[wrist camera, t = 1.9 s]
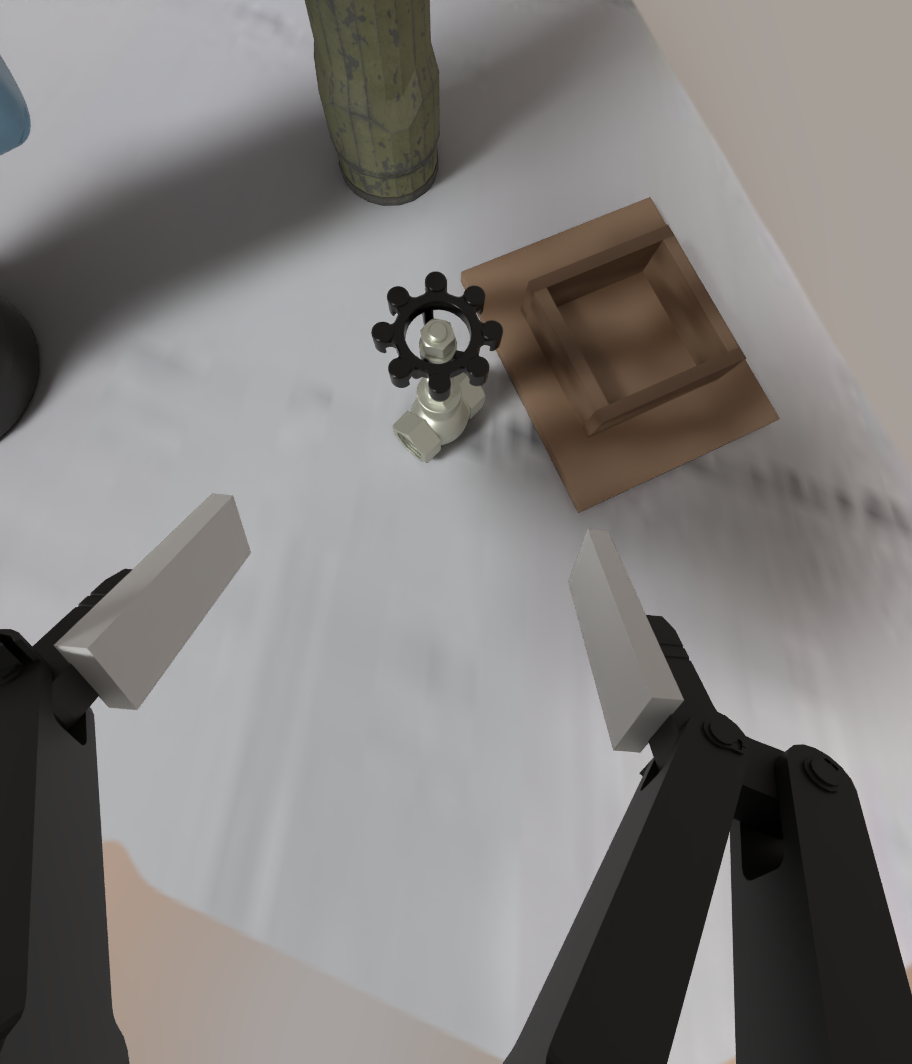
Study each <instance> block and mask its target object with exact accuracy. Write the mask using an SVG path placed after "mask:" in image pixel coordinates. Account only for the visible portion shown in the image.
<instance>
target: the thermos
mask: <svg viewBox="0 0 912 1064" xmlns="http://www.w3.org/2000/svg"><path fill="white" fill-rule="evenodd" d="M305 4H306V8H307V12H308V16H309V20H310V25H311V29H312V33H313V37H314V61H315V68H316V75H317V82H318V89H319V94H320V98H321V102H322V106H323V110H324V114H325V117H326V121H327V125H328V129H329V133H330V137H331V139H332V142H333V144H334V147H335V149H336V151H337V153H338V157H339V165H340V169H341V172H342V174H343V177H344V179H345V182H346V184H347V185H348V186H349V187H350V188H351V189H352V190H353V192H354V193H355V194H357V195H358V196H360V197H362V198H363V199H365V200H367V201H368V202H372V203H376V204H380V205H401V204H404V203H407V202H411V201H414V200H415V199H417V198H418V197H420V196H421V195H423V194H424V193H425V192H426V191H427V190H428V189H429V187H430V186H431V185H432V183H433V182H434V180H435V177H436V174H437V170H438V153H437V141H438V138H439V135H440V129H439V70H438V66H437V63H436V59H435V55H434V52H433V48H432V44H431V37H430V0H305Z"/></svg>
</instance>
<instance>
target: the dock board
mask: <svg viewBox="0 0 912 1064" xmlns="http://www.w3.org/2000/svg"><path fill="white" fill-rule="evenodd" d="M461 282H462V284H463V286H464V288H465V290H466V289H467V288H468V287H470V286H473V285H476V286H479V287H481V288H482V289H483V290H484V292H485V304H484V310H483V312H482V314H481V315H480V314H479V313H478V312H477V314H478V316H479V318H480V320H481V322H483V323H485V322H487V321H489V320H494V321H497V322H499V323H500V324H501V325H502V327H503V335H502V339H501V344H500V346H499V347H498V349H496V351H497V353H498V355H499V357H500V359H501V361H502V363H503V365H504V367H505V369H506V371H507V373H508V375H509V377H510V379H511V381H512V383H513V385H514V387H515V389H516V391H517V393H518V395H519V397H520V399H521V401H522V403H523V405H524V407H525V409H526V410H527V412H528V414H529V416H530V418H531V420H532V422H533V424H534V426H535V428H536V430H537V432H538V434H539V436H540V438H541V440H542V442H543V444H544V446H545V448H546V450H547V452H548V454H549V456H550V458H551V460H552V462H553V464H554V466H555V468H556V470H557V472H558V474H559V476H560V478H561V479H562V481H563V483H564V485H565V487H566V489H567V491H568V493H569V495H570V497H571V499H572V501H573V503H574V505H575V507H576V509H577V511H578V513H579V512H581V511H584V510H586V509H588V508H590V507H592V506H594V505H596V504H599V503H601V502H603V501H605V500H607V499H609V498H611V497H614V496H616V495H618V494H620V493H622V492H624V491H627V490H629V489H631V488H633V487H635V486H637V485H639V484H642V483H644V482H646V481H648V480H650V479H652V478H654V477H657V476H659V475H661V474H663V473H665V472H667V471H669V470H672V469H674V468H676V467H678V466H680V465H682V464H684V463H687V462H689V461H691V460H693V459H695V458H697V457H699V456H702V455H704V454H706V453H708V452H710V451H712V450H714V449H717V448H719V447H721V446H723V445H725V444H727V443H729V442H732V441H734V440H736V439H738V438H740V437H742V436H744V435H747V434H749V433H751V432H753V431H755V430H757V429H759V428H762V427H764V426H766V425H768V424H770V423H772V422H774V421H776V420H778V419H780V418H779V417H778V415H777V413H776V412H775V410H774V408H773V407H772V405H771V403H770V401H769V400H768V398H767V396H766V395H765V393H764V391H763V389H762V388H761V386H760V384H759V383H758V381H757V379H756V377H755V376H754V374H753V372H752V371H751V369H750V367H749V365H748V364H747V362H746V360H745V359H746V357H745V356H744V354H743V352H742V350H741V349H740V347H739V345H738V344H737V342H736V340H735V338H734V337H733V335H732V333H731V332H730V330H729V328H728V326H727V325H726V323H725V321H724V320H723V318H722V316H721V314H720V313H719V311H718V309H717V308H716V306H715V304H714V303H713V301H712V299H711V297H710V296H709V294H708V292H707V291H706V289H705V287H704V285H703V284H702V282H701V280H700V279H699V277H698V275H697V273H696V272H695V270H694V268H693V267H692V265H691V263H690V262H689V260H688V258H687V256H686V255H685V253H684V251H683V250H682V248H681V246H680V244H679V243H678V241H677V239H676V238H675V236H674V234H673V232H672V231H671V229H670V227H669V226H668V225H666V223H665V222H664V220H663V218H662V217H661V215H660V213H659V211H658V210H657V208H656V206H655V205H654V203H653V201H652V199H651V198H650V197H649V198H647V199H644V200H642V201H639V202H637V203H634V204H632V205H629V206H627V207H624V208H621V209H619V210H616V211H614V212H611V213H609V214H606V215H604V216H601V217H599V218H596V219H594V220H591V221H589V222H586V223H584V224H581V225H579V226H576V227H574V228H571V229H569V230H566V231H563V232H561V233H558V234H556V235H553V236H551V237H548V238H546V239H543V240H541V241H538V242H536V243H533V244H531V245H528V246H526V247H523V248H521V249H518V250H516V251H513V252H511V253H508V254H505V255H503V256H500V257H498V258H495V259H493V260H490V261H488V262H485V263H483V264H480V265H478V266H475V267H473V268H470V269H468V270H465V271H463V272H461Z"/></svg>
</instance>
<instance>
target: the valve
mask: <svg viewBox="0 0 912 1064" xmlns="http://www.w3.org/2000/svg"><path fill="white" fill-rule="evenodd" d="M425 291H426V292H425V294H423V295H421V296H418V297H411V296H410V295H409V293H408V291H407V290H406V289H405V288H403V287H400V286H396V287H393V288H391V289H390V290H389V292H388V294H387V300H388V305H389V310H390V313H391V314H392V315H393V316H394V315H395V314H396V313H397V314H398V316H397V318H396V320H395V322H394V323H393V324H389V323H387V322H379V323H377V324H375V325H374V326H373V328H372V332H371V333H372V337H373V341H374V344H375V347H376V349H377V350H378V351H380V352H382V353H386V348H387V347H394V348H395V349H396V350H397V353H398V355H399V357H398V358H395V359H393V360H392V361H391V362H390V364H389V367H388V371H389V375H390V378H391V382H392V383H393V384H394V385H395V386H396V387H399V388H404V387H407V386H408V385H410V383H409V379H410V378H411V376H412V377H413V378H414V379H418V378H421V377H423V378H422V379H421V381H420V382H419V384H418V387H417V398H416V400H415V402H414V404H413V406H412V409H411V412H409V411H407V412H406V413H405V414H404V415H403V416H402V417H401V418H400V419H399V420H398V421H397V422H396V423H395V424H394V425H393V432H394V434H395V435H396V437H397V438H398V440H399V441H400V442H401V443H402V444H403V446H404V447H405V448H406V449H407V450H408V451H409V452H410V453H411V454H412V455H414V456H415V457H416V458H417V459H419V460H420V461H422V462H425V463H428V462H429V461H430V460H431V459H432V458H433V457H434V456H435V455H436V454H437V453H438V452H439V451H440V450H441V445H444V444H448V443H450V442H452V441H454V440H455V439H456V438H458V437H459V436H460V435H461V433H462V432H463V431H464V429H465V427H466V425H467V422H468V419H469V420H470V419H471V418H472V417H473V416H474V415H475V414H476V413H477V412H478V411H479V410H480V409H481V408H482V407H483V405H484V402H485V398H486V396H485V393H484V391H483V389H482V387H481V385H483V384H484V383H485V382H486V380H487V377H488V372H489V363H488V361H487V360H486V359H485V358H483V357H480V356H479V352H480V347H481V346H483V345H488V346H490V351H494V350H496V349H498V347H499V346H500V344H501V339H502V335H503V327H502V325H501V324H500V323H499V322H497V321H494V320H489V321H487V322H485V323H483V322H481V321H480V320H479V319H478V317H477V315H476V312H478V313H479V314H480V315H481V314H482V312H483V310H484V304H485V292H484V290H483V289H482V288H481V287H479V286H476V285H473V286H470V287H468V288H467V289H466V290H465V291H464V294H463V295H462V296H461V297H456V296H453V295H450V294H448V293H447V279H446V277H445V276H444V275H443V274H442V273H440V272H431V273H429V274H428V275H427V277H426V279H425ZM433 310H445V311H449V312H451V313H453V314H455V315H456V316H458V317H459V318H460V319H461V320H462V321H463V322H464V323H465V324H466V326H467V328H468V330H469V333H470V343H469V345H468V347H467V349H466V350H465V352H462V351H457V341H456V338H455V336H454V333H453V329H452V327H451V324H450V322H447V321H444V320H440V319H434V317H433ZM420 314H422V316H423V322H424V327H423V328H422V329H421V330H420V332H421V338H420V341H419V347H420V357H421V359H419V358H418V357H417V356H415V355H414V354H413V353H412V352H411V351H410V349H409V348H408V346H407V344H406V341H405V337H406V331H407V329H408V326H409V325H410V323H411V322H412V321H413V319H414V318H416V317H417V316H418V315H420Z"/></svg>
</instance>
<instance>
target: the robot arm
mask: <svg viewBox="0 0 912 1064" xmlns="http://www.w3.org/2000/svg"><path fill="white" fill-rule="evenodd" d="M30 127H31V123H30V115H29V111H28V108H27V104H26V102H25V100H24V97H23V95H22V93H21V91H20V89H19V87H18V85H17V83H16V81H15V79H14V78H13V76H12V74H11V72H10V70H9V69H8V67H7V65H6V64H5V62H4V60H3V59H2V57H1V55H0V155H2V154H4V153H6V152H8V151H10V150H12V149H14V148H16V147H18V146H20V145H22V144H23V143H24V142H25V140H26V139H27V138H28V136H29V133H30ZM38 366H39V358H38V349H37V344H36V341H35V338H34V335H33V332H32V330H31V328H30V326H29V325H28V323H27V321H26V320H25V319H24V317H23V316H22V315H21V314H20V313H19V311H18V310H17V309H16V308H14V307H13V306H12V305H11V304H10V303H8V302H7V301H6V300H4V299H3V298H1V297H0V437H1V436H2V435H4V434H5V433H6V432H7V431H8V430H9V429H10V428H11V427H12V426H13V424H14V423H15V422H16V421H17V420H18V418H19V417H20V416H21V414H22V413H23V411H24V410H25V408H26V406H27V404H28V403H29V401H30V398H31V396H32V394H33V391H34V388H35V385H36V381H37V376H38ZM250 553H251V551H250V548H249V545H248V542H247V538H246V535H245V532H244V529H243V526H242V522H241V519H240V516H239V513H238V510H237V507H236V503H235V500H234V497H233V496H232V495H222V494H211V495H210V496H209V497H208V498H207V499H206V500H205V501H204V502H203V503H202V504H201V505H200V506H199V507H198V508H197V509H195V510H194V511H193V512H192V513H191V514H190V515H189V516H188V517H187V518H186V519H185V520H184V521H183V522H182V523H181V524H180V525H179V526H178V527H177V528H176V529H175V530H174V531H172V532H171V533H170V534H169V535H168V536H167V537H166V538H165V539H164V540H163V541H162V542H161V543H160V544H159V545H158V546H157V547H156V548H155V549H154V550H153V551H152V552H151V553H149V554H148V555H147V556H146V557H145V558H144V559H143V560H142V561H141V562H140V563H139V564H138V565H137V566H136V567H135V568H134V569H124V570H122V571H120V572H118V573H117V574H115V575H113V576H111V577H110V578H108V579H106V580H105V581H104V582H102V583H101V584H100V585H99V586H98V587H97V588H96V589H95V590H94V591H93V592H91V595H90V596H87V597H86V598H85V599H84V600H83V601H82V602H81V603H79V604H78V605H79V606H78V607H75V608H74V609H73V610H72V611H71V612H70V613H69V614H67V615H66V616H65V617H64V618H63V619H62V620H61V621H60V622H59V623H58V624H56V625H55V626H54V627H53V628H52V629H51V630H50V631H49V632H48V633H47V634H46V635H44V636H43V637H42V638H41V639H40V640H39V641H38V642H37V643H36V644H35V645H34V646H31V645H30V644H29V643H28V642H27V641H26V640H25V639H24V638H23V636H22V635H21V634H20V633H19V632H16V631H14V630H12V629H0V1064H129V1057H128V1050H127V1046H126V1043H125V1040H124V1036H123V1035H122V1033H121V1031H120V1029H119V1028H118V1026H117V1024H116V1022H115V1019H114V1016H113V1010H112V999H111V984H110V983H111V982H110V968H109V967H110V966H109V952H108V951H109V950H108V933H107V917H106V902H105V887H104V885H105V884H104V870H103V869H104V868H103V852H102V836H101V819H100V803H99V787H98V771H97V754H96V738H95V722H94V714H93V711H92V709H91V708H90V706H91V704H92V703H93V702H94V701H95V700H96V698H97V697H98V696H99V697H100V698H101V699H102V700H103V701H104V703H105V704H106V705H107V706H108V707H109V708H120V709H132V710H138V708H139V707H140V706H141V704H142V703H143V701H144V700H145V699H146V697H147V696H148V694H149V693H150V692H151V690H152V689H153V688H154V686H155V685H156V683H157V682H158V681H159V679H160V678H161V677H162V675H163V674H164V672H165V671H166V670H167V668H168V667H169V665H170V664H171V663H172V661H173V660H174V659H175V657H176V656H177V654H178V653H179V652H180V650H181V649H182V647H183V646H184V645H185V643H186V642H187V641H188V639H189V638H190V636H191V635H192V634H193V632H194V631H195V629H196V628H197V627H198V625H199V624H200V623H201V621H202V620H203V618H204V617H205V616H206V614H207V613H208V611H209V610H210V609H211V607H212V606H213V605H214V603H215V602H216V600H217V599H218V598H219V596H220V595H221V593H222V592H223V591H224V589H225V588H226V587H227V585H228V584H229V582H230V581H231V580H232V578H233V577H234V575H235V574H236V573H237V571H238V570H239V569H240V567H241V566H242V564H243V563H244V562H245V560H246V559H247V558H248V556H249V555H250ZM568 583H569V587H570V590H571V594H572V598H573V602H574V605H575V609H576V613H577V617H578V620H579V624H580V628H581V631H582V635H583V639H584V643H585V646H586V650H587V654H588V658H589V661H590V665H591V669H592V673H593V676H594V680H595V684H596V688H597V691H598V695H599V699H600V703H601V706H602V710H603V714H604V718H605V721H606V725H607V729H608V733H609V736H610V740H611V744H612V748H613V750H617V751H628V752H641V751H642V750H643V749H644V748H645V746H646V745H647V744H648V743H649V744H650V747H651V750H652V753H653V756H654V758H653V759H652V760H651V761H650V762H649V763H648V764H647V765H646V767H645V768H644V769H643V770H642V771H641V772H640V774H641V775H642V776H643V777H642V779H641V782H640V784H639V786H638V788H637V790H636V792H635V794H634V796H633V798H632V800H631V803H630V805H629V807H628V809H627V811H626V813H625V815H624V817H623V819H622V822H621V824H620V826H619V828H618V830H617V832H616V834H615V836H614V838H613V840H612V843H611V845H610V847H609V849H608V851H607V853H606V855H605V857H604V859H603V861H602V864H601V866H600V868H599V870H598V872H597V874H596V876H595V878H594V880H593V883H592V885H591V887H590V889H589V891H588V893H587V895H586V897H585V899H584V901H583V904H582V906H581V908H580V910H579V912H578V914H577V916H576V918H575V920H574V923H573V925H572V927H571V929H570V931H569V933H568V935H567V937H566V939H565V941H564V944H563V946H562V948H561V950H560V952H559V954H558V956H557V958H556V960H555V962H554V965H553V967H552V969H551V971H550V973H549V975H548V977H547V979H546V981H545V984H544V986H543V988H542V990H541V992H540V994H539V996H538V998H537V1000H536V1002H535V1005H534V1007H533V1009H532V1011H531V1013H530V1015H529V1017H528V1019H527V1021H526V1024H525V1026H524V1028H523V1030H522V1032H521V1034H520V1036H519V1038H518V1040H517V1042H516V1044H515V1046H514V1047H513V1049H512V1051H511V1052H510V1054H509V1055H508V1057H507V1058H506V1059H505V1061H504V1062H503V1064H667V1062H668V1058H669V1054H670V1050H671V1047H672V1043H673V1039H674V1036H675V1032H676V1028H677V1025H678V1021H679V1017H680V1013H681V1010H682V1006H683V1002H684V999H685V995H686V991H687V987H688V984H689V980H690V976H691V973H692V969H693V965H694V961H695V958H696V954H697V950H698V947H699V943H700V939H701V936H702V932H703V928H704V924H705V921H706V917H707V913H708V910H709V906H710V902H711V898H712V895H713V891H714V887H715V884H716V880H717V876H718V873H719V869H720V865H721V861H722V858H723V854H724V850H725V847H726V843H727V839H728V835H729V832H730V853H731V890H732V928H733V965H734V1002H735V1039H736V1064H912V994H911V990H910V987H909V983H908V979H907V975H906V971H905V968H904V964H903V960H902V957H901V953H900V949H899V946H898V942H897V938H896V934H895V931H894V927H893V923H892V920H891V916H890V912H889V909H888V905H887V901H886V897H885V894H884V890H883V886H882V883H881V879H880V875H879V872H878V868H877V864H876V860H875V857H874V853H873V849H872V846H871V842H870V838H869V835H868V831H867V827H866V823H865V820H864V816H863V812H862V809H861V805H860V801H859V798H858V794H857V791H856V789H855V786H854V784H853V782H852V780H851V778H850V777H849V776H848V775H847V773H846V772H845V771H844V770H843V768H842V767H841V766H840V765H839V764H837V763H836V762H835V761H834V760H833V759H832V758H831V757H829V756H828V755H826V754H825V753H823V752H821V751H819V750H818V749H816V748H813V747H810V746H807V745H804V744H803V745H793V746H792V747H791V748H789V749H788V750H787V751H785V752H784V751H781V750H779V749H776V748H774V747H771V746H768V745H766V744H763V743H761V742H758V741H756V740H753V739H751V738H749V737H746V736H745V735H744V733H743V732H742V731H741V730H740V728H739V727H738V726H737V725H736V724H735V723H734V722H733V721H731V720H730V719H729V718H728V717H727V716H725V715H723V714H721V713H719V712H717V710H716V709H715V707H714V706H713V704H712V702H711V700H710V698H709V696H708V694H707V692H706V690H705V688H704V686H703V684H702V682H701V680H700V678H699V676H698V674H697V672H696V670H695V668H694V666H693V664H692V662H691V661H689V656H688V654H687V652H686V650H685V648H683V645H682V643H681V641H680V639H679V637H678V635H677V633H676V631H675V629H674V628H673V627H672V626H671V625H670V624H669V623H668V622H667V621H666V620H665V619H664V618H663V617H662V616H651V615H646V614H645V612H644V610H643V608H642V606H641V603H640V601H639V599H638V597H637V594H636V592H635V590H634V588H633V586H632V583H631V581H630V579H629V577H628V574H627V572H626V570H625V568H624V566H623V563H622V561H621V559H620V557H619V554H618V552H617V550H616V548H615V546H614V543H613V541H612V539H611V537H610V534H609V532H608V531H605V530H594V529H587V532H586V534H585V537H584V540H583V542H582V545H581V548H580V551H579V553H578V556H577V559H576V562H575V564H574V567H573V570H572V573H571V575H570V578H569V581H568Z"/></svg>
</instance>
